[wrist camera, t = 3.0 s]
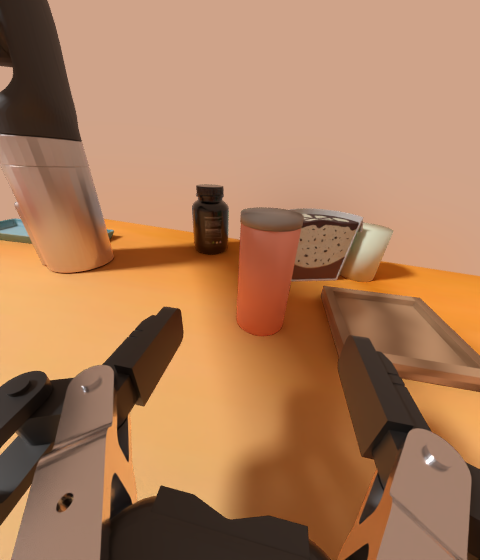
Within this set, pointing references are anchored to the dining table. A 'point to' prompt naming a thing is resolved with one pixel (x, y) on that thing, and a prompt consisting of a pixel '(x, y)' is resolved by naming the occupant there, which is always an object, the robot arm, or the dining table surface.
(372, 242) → the sage tin
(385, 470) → the robot arm
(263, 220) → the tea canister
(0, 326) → the dining table surface
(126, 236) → the dining table surface
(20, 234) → the shallow long dish
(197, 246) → the supplement bottle
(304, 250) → the food container
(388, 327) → the tray
